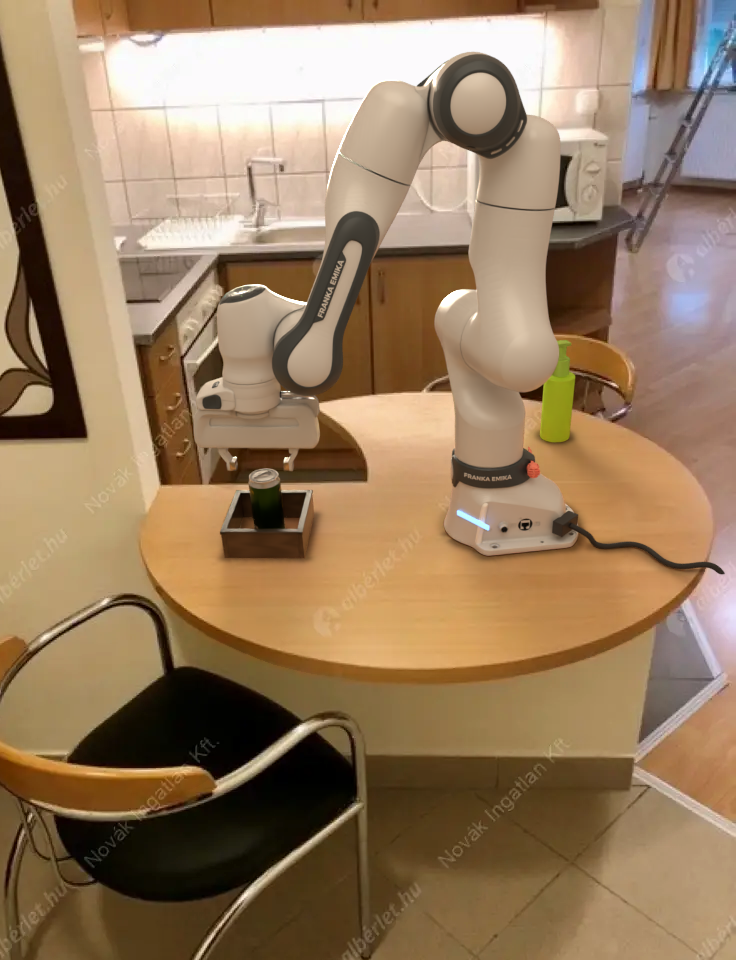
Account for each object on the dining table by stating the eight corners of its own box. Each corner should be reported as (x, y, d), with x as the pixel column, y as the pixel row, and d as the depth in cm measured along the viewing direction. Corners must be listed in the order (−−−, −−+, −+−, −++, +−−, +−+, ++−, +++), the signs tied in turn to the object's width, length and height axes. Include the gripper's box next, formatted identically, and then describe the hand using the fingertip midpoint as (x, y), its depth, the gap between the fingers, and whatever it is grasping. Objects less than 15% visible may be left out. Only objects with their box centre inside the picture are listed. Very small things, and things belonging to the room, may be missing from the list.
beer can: (265, 548, 146) (257, 486, 139) (249, 534, 149) (241, 474, 143) (292, 537, 148) (285, 476, 141) (276, 524, 152) (269, 464, 145)
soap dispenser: (529, 433, 176) (536, 340, 165) (560, 427, 177) (568, 334, 166) (544, 445, 171) (551, 349, 160) (574, 439, 172) (584, 344, 162)
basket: (314, 515, 154) (312, 489, 151) (305, 558, 142) (302, 532, 139) (239, 515, 155) (236, 489, 152) (223, 558, 144) (219, 531, 141)
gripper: (320, 383, 136) (325, 460, 143) (195, 383, 138) (205, 460, 145) (316, 399, 130) (320, 479, 138) (185, 399, 133) (197, 477, 140)
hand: (260, 469), depth 142 cm, fingers open, 8 cm apart
